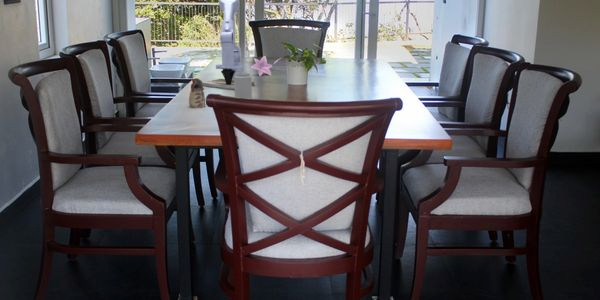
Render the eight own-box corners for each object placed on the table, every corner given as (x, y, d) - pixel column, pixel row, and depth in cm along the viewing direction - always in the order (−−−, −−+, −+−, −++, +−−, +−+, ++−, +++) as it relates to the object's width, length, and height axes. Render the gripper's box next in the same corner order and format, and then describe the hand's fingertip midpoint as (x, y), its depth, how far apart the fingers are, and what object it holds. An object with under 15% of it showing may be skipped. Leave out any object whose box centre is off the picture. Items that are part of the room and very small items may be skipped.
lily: (247, 78, 381) (252, 63, 376) (249, 66, 391) (254, 52, 385) (268, 84, 383) (273, 69, 377) (270, 73, 392) (275, 58, 387)
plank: (211, 83, 354) (210, 80, 354) (244, 87, 342) (244, 84, 342) (201, 85, 349) (201, 82, 348) (235, 89, 337) (235, 86, 336)
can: (242, 97, 316) (241, 71, 313) (255, 99, 312) (254, 72, 309) (231, 100, 310) (230, 73, 307) (244, 101, 306) (243, 74, 303)
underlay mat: (219, 82, 361) (219, 81, 360) (255, 85, 348) (255, 85, 348) (200, 86, 349) (199, 85, 349) (235, 90, 336) (235, 89, 336)
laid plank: (220, 81, 360) (220, 78, 360) (254, 85, 348) (254, 82, 348) (212, 83, 355) (212, 80, 355) (246, 86, 343) (245, 83, 342)
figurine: (209, 105, 297) (208, 77, 294) (196, 108, 292) (195, 79, 289) (198, 103, 302) (197, 76, 299) (185, 106, 297) (184, 78, 294)
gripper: (211, 56, 339) (212, 84, 342) (234, 58, 331) (234, 87, 334) (220, 55, 345) (221, 82, 348) (243, 56, 336) (244, 85, 340)
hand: (228, 84), depth 341 cm, fingers closed, pressing on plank
